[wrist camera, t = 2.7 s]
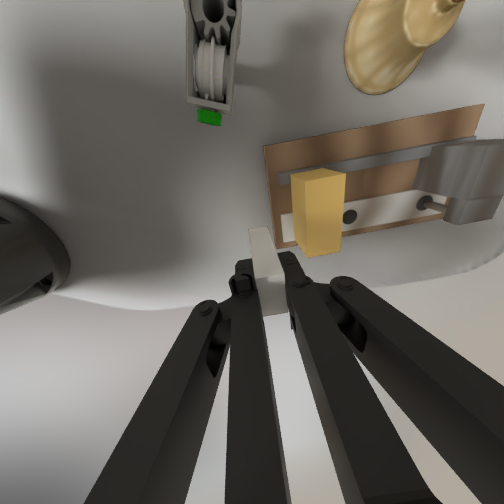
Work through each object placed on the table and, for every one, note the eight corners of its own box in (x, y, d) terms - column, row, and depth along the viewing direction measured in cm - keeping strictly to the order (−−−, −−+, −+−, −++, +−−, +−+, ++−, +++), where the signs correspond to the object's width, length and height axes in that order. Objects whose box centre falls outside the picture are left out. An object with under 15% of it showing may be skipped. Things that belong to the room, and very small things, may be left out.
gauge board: (275, 244, 28) (288, 276, 21) (263, 146, 22) (276, 146, 15) (434, 214, 28) (500, 236, 21) (469, 106, 22) (582, 86, 15)
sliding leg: (292, 236, 25) (307, 257, 20) (288, 173, 21) (304, 181, 16) (319, 231, 25) (340, 251, 20) (320, 167, 21) (345, 173, 16)
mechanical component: (246, -3, 16) (258, -176, 8) (232, 134, 21) (230, 126, 12) (211, -14, 16) (181, -210, 7) (205, 129, 21) (183, 116, 12)
